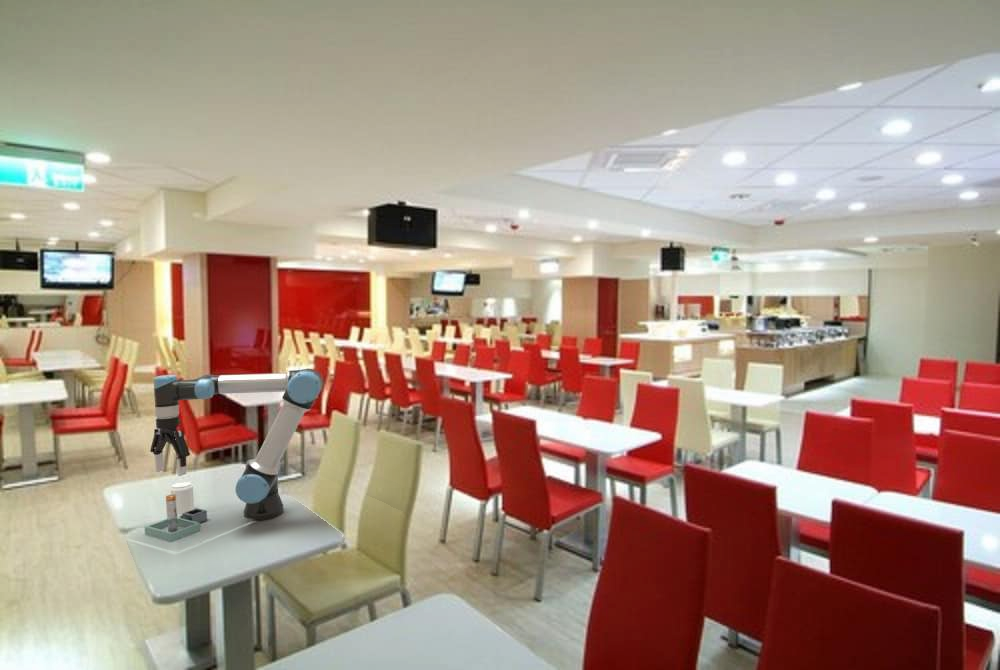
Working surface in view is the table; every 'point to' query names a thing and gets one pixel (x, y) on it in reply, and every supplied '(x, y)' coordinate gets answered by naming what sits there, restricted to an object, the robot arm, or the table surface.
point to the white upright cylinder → (183, 496)
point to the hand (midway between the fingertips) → (171, 473)
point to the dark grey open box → (196, 515)
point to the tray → (188, 529)
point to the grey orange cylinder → (171, 513)
